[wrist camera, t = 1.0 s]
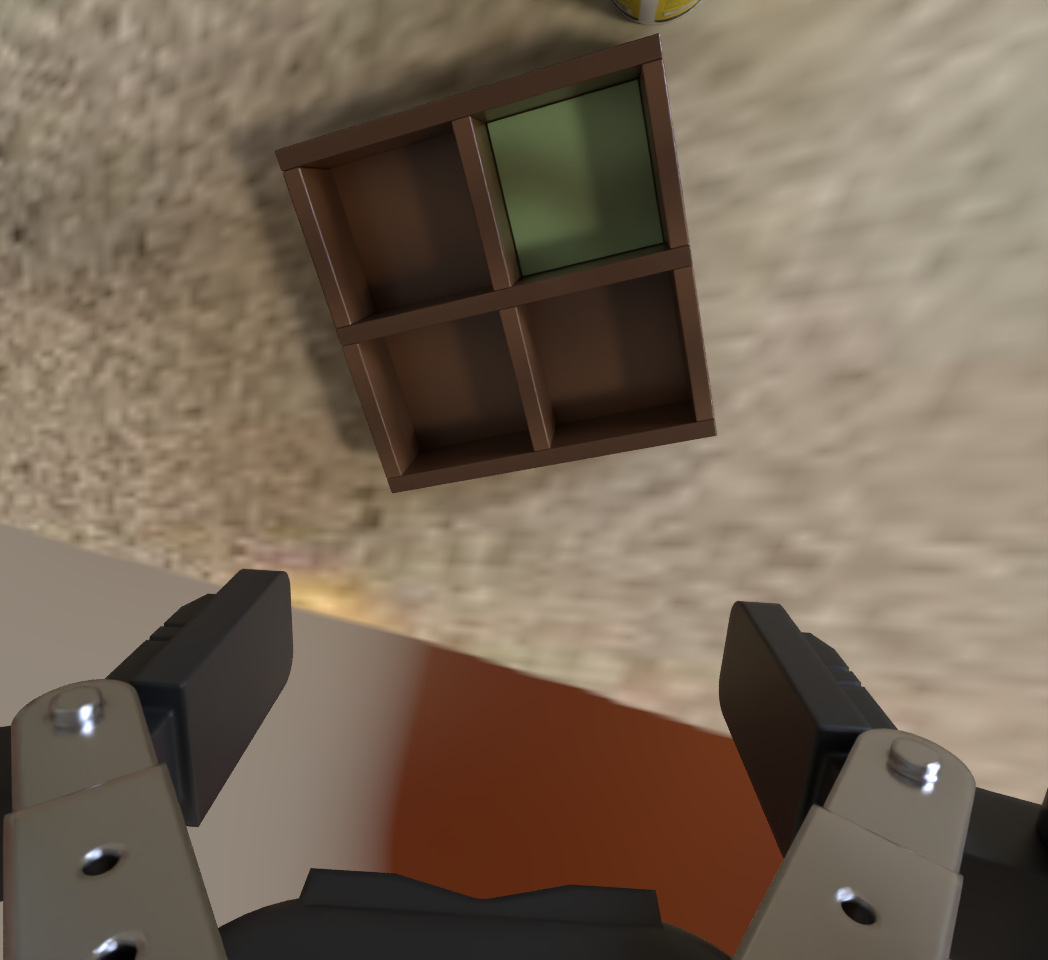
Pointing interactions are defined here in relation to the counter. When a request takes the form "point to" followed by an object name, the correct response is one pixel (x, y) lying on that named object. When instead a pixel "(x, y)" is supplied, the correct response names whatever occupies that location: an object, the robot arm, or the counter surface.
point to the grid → (512, 271)
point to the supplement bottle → (654, 10)
